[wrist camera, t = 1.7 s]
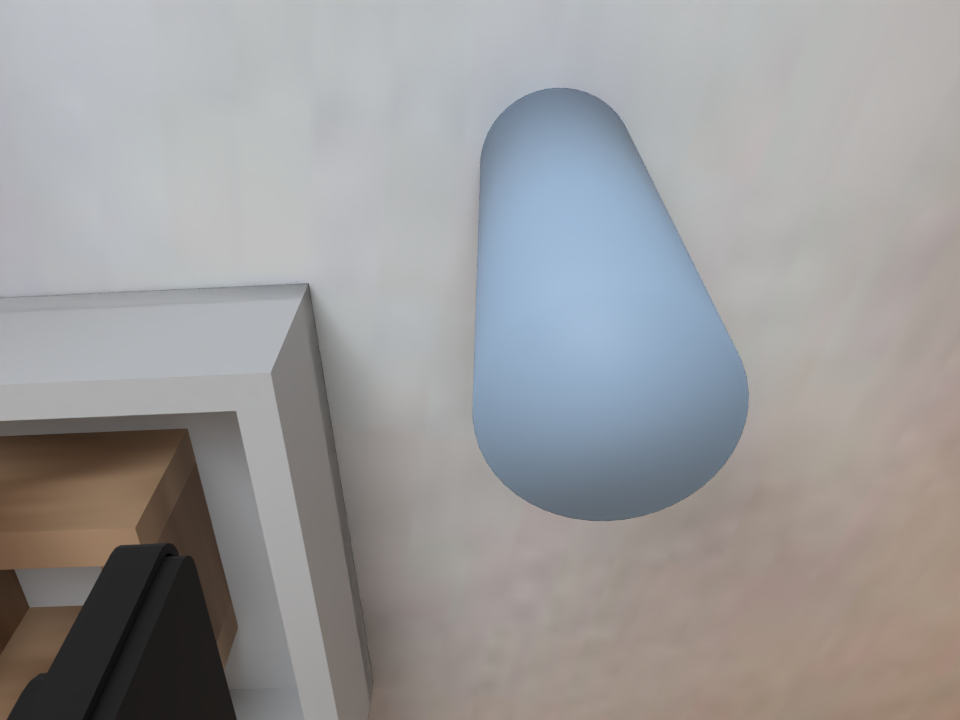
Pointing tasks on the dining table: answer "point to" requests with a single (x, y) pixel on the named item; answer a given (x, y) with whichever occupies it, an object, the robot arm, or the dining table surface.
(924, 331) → the dining table surface
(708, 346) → the peg
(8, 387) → the box
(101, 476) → the socket
